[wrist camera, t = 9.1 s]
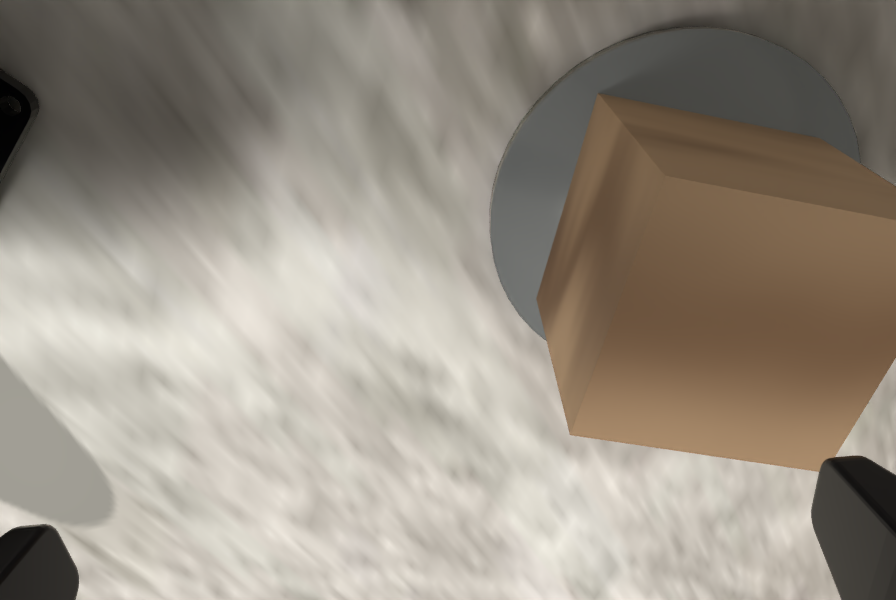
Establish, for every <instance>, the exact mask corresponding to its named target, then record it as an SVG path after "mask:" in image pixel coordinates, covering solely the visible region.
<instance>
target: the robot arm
mask: <svg viewBox="0 0 896 600" xmlns="http://www.w3.org/2000/svg"><path fill="white" fill-rule="evenodd" d="M8 96H11V97H14V98H15V99H16V100H17V101H18V102H19V103H20V106H21V112H18V111H16V110H14V109H13V108H12V107H11V106H10V105H9V102H8ZM38 110H39V104H38V99H37V98H36V96H35V94H34V93H33V92H32V91H31V90H30V89H29V88H28V87H27V86H25V85H24V84H22V83H21V82H19V81H18V80H16V79H15V78H13V77H12V76H10V75H9V74H7V73H6V72H4V71H3V70H1V69H0V183H1V181H2V179H3V177H4V175H5V174H6V172H7V170H8V168H9V166H10V164H11V162H12V161H13V159H14V157H15V155H16V153H17V151H18V149H19V148H20V146H21V144H22V142H23V140H24V138H25V136H26V135H27V133H28V131H29V129H30V127H31V125H32V123H33V122H34V120H35V118H36V116H37V114H38ZM811 518H812V524H813V528H814V531H815V534H816V536H817V539H818V541H819V544H820V546H821V549H822V551H823V554H824V556H825V559H826V562H827V564H828V567H829V569H830V572H831V574H832V577H833V579H834V582H835V584H836V587H837V589H838V592H839V595H840V597H841V600H896V475H895V474H893V473H891V472H890V471H888V470H886V469H885V468H883V467H882V466H880V465H878V464H877V463H875V462H873V461H872V460H870V459H868V458H866V457H863V456H845V457H833V458H828V459H826V460H825V461H824V462H823V463H822V464H821V467H820V471H819V475H818V480H817V485H816V489H815V494H814V499H813V503H812V509H811ZM78 587H79V575H78V570H77V568H76V565H75V563H74V562H73V560H72V558H71V556H70V554H69V552H68V550H67V548H66V546H65V544H64V543H63V541H62V539H61V537H60V535H59V533H58V531H57V530H56V529H55V528H54V527H52V526H51V525H47V524H40V525H29V526H19V527H16V528H13V529H11V530H10V531H8V532H7V533H5V534H4V535H3V536H1V537H0V600H76V596H77V592H78Z"/></svg>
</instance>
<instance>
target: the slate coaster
mask: <svg viewBox="0 0 896 600" xmlns="http://www.w3.org/2000/svg"><path fill="white" fill-rule="evenodd" d="M598 93H600V94H605V95H610V96H615V97H620V98H625V99H630V100H635V101H640V102H645V103H649V104H654V105H659V106H664V107H669V108H674V109H679V110H684V111H689V112H694V113H699V114H704V115H709V116H713V117H718V118H723V119H728V120H733V121H738V122H743V123H748V124H753V125H758V126H763V127H768V128H772V129H777V130H782V131H787V132H792V133H797V134H802V135H807V136H812V137H817V138H820V139H822V140H824V141H825V142H827V143H828V144H830V145H831V146H833V147H835V148H836V149H838V150H839V151H841V152H842V153H844V154H846V155H847V156H849V157H850V158H852V159H853V160H855V161H857V162H858V163H860V155H859V149H858V143H857V137H856V134H855V131H854V128H853V126H852V123H851V120H850V117H849V115H848V113H847V111H846V109H845V107H844V105H843V104H842V102H841V100H840V98H839V96H838V95H837V94H836V92H835V91H834V90H833V89H832V87H831V86H830V85H829V83H828V82H827V81H826V80H825V78H824V77H823V76H821V75H820V74H819V73H818V72H817V71H816V70H815V69H814V68H813V67H811V66H810V65H809V64H808V63H807V62H806V61H804V60H802V59H801V58H799V57H798V56H796V55H795V54H793V53H791V52H790V51H788V50H787V49H785V48H782V47H780V46H778V45H776V44H773V43H771V42H769V41H766V40H764V39H762V38H759V37H757V36H755V35H751V34H747V33H743V32H739V31H735V30H732V29H725V28H715V27H706V26H698V27H676V28H670V29H665V30H659V31H653V32H649V33H646V34H642V35H639V36H636V37H633V38H630V39H626V40H624V41H621V42H619V43H617V44H615V45H613V46H610V47H608V48H606V49H604V50H602V51H600V52H598V53H596V54H595V55H593V56H591V57H590V58H588V59H586V60H585V61H583V62H582V63H580V64H578V65H577V66H575V67H574V68H573V69H572V70H570V71H569V72H568V73H566V74H565V75H564V76H563V77H561V78H560V79H559V80H558V81H556V82H555V83H554V84H553V85H552V86H551V87H550V88H549V89H548V90H547V91H546V92H545V93H544V94H543V95H542V96H541V97H540V98H539V99H538V100H537V101H536V103H535V104H534V105H533V107H532V108H531V109H530V111H529V112H528V113H527V114H526V116H525V117H524V118H523V120H522V121H521V122H520V124H519V126H518V127H517V129H516V131H515V133H514V134H513V136H512V138H511V139H510V141H509V143H508V145H507V147H506V150H505V152H504V154H503V157H502V159H501V161H500V164H499V166H498V170H497V173H496V177H495V181H494V184H493V188H492V195H491V202H490V210H489V226H490V238H491V245H492V251H493V258H494V263H495V266H496V269H497V273H498V276H499V279H500V282H501V284H502V286H503V288H504V290H505V292H506V294H507V297H508V299H509V300H510V302H511V303H512V305H513V306H514V308H515V309H516V311H517V312H518V314H519V315H520V316H521V317H522V319H523V320H524V321H525V322H526V323H527V324H528V325H529V326H530V327H531V328H532V330H534V331H535V332H536V333H537V334H538V335H540V336H541V337H542V338H543V339H544V340H546V336H545V332H544V328H543V324H542V320H541V316H540V312H539V308H538V304H537V300H536V298H537V294H538V291H539V288H540V284H541V281H542V278H543V274H544V271H545V268H546V264H547V261H548V258H549V254H550V251H551V248H552V244H553V241H554V238H555V234H556V231H557V228H558V224H559V221H560V218H561V214H562V211H563V207H564V204H565V201H566V197H567V194H568V191H569V187H570V184H571V181H572V177H573V174H574V171H575V167H576V164H577V161H578V157H579V154H580V151H581V147H582V144H583V141H584V137H585V134H586V131H587V127H588V124H589V121H590V117H591V114H592V111H593V107H594V104H595V101H596V97H597V94H598ZM546 341H547V340H546Z"/></svg>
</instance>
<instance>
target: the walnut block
mask: <svg viewBox="0 0 896 600" xmlns="http://www.w3.org/2000/svg"><path fill="white" fill-rule="evenodd" d="M536 300H537V304H538V308H539V312H540V316H541V320H542V324H543V328H544V332H545V336H546V340H547V344H548V348H549V352H550V356H551V360H552V364H553V368H554V372H555V376H556V380H557V384H558V388H559V392H560V396H561V400H562V404H563V408H564V412H565V416H566V420H567V424H568V428H569V432H570V435H574V436H580V437H587V438H594V439H601V440H607V441H614V442H621V443H628V444H635V445H641V446H648V447H655V448H662V449H669V450H675V451H682V452H689V453H696V454H702V455H709V456H716V457H723V458H730V459H736V460H743V461H750V462H757V463H763V464H770V465H777V466H784V467H791V468H797V469H804V470H811V471H818V472H819V471H820V467H821V464H822V463H823V462H824V461H825V460H826V459H828V458H833V457H835V456H836V454H837V452H838V451H839V449H840V448H841V446H842V444H843V443H844V441H845V439H846V438H847V436H848V434H849V433H850V431H851V430H852V428H853V426H854V425H855V423H856V421H857V420H858V418H859V417H860V415H861V413H862V412H863V410H864V408H865V407H866V405H867V404H868V402H869V400H870V399H871V397H872V395H873V394H874V392H875V391H876V389H877V387H878V386H879V384H880V382H881V381H882V379H883V377H884V376H885V374H886V373H887V371H888V369H889V368H890V366H891V364H892V363H893V361H894V360H895V358H896V186H894V185H893V184H891V183H889V182H888V181H886V180H885V179H883V178H882V177H880V176H878V175H877V174H875V173H874V172H872V171H871V170H869V169H867V168H866V167H864V166H863V165H861V164H860V163H858V162H857V161H855V160H853V159H852V158H850V157H849V156H847V155H846V154H844V153H842V152H841V151H839V150H838V149H836V148H835V147H833V146H831V145H830V144H828V143H827V142H825V141H824V140H822V139H820V138H817V137H812V136H807V135H802V134H797V133H792V132H787V131H782V130H777V129H772V128H768V127H763V126H758V125H753V124H748V123H743V122H738V121H733V120H728V119H723V118H718V117H713V116H709V115H704V114H699V113H694V112H689V111H684V110H679V109H674V108H669V107H664V106H659V105H654V104H649V103H645V102H640V101H635V100H630V99H625V98H620V97H615V96H610V95H605V94H600V93H598V94H597V97H596V101H595V104H594V107H593V111H592V114H591V117H590V121H589V124H588V127H587V131H586V134H585V137H584V141H583V144H582V147H581V151H580V154H579V157H578V161H577V164H576V167H575V171H574V174H573V177H572V181H571V184H570V187H569V191H568V194H567V197H566V201H565V204H564V207H563V211H562V214H561V218H560V221H559V224H558V228H557V231H556V234H555V238H554V241H553V244H552V248H551V251H550V254H549V258H548V261H547V264H546V268H545V271H544V274H543V278H542V281H541V284H540V288H539V291H538V294H537V298H536Z"/></svg>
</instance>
